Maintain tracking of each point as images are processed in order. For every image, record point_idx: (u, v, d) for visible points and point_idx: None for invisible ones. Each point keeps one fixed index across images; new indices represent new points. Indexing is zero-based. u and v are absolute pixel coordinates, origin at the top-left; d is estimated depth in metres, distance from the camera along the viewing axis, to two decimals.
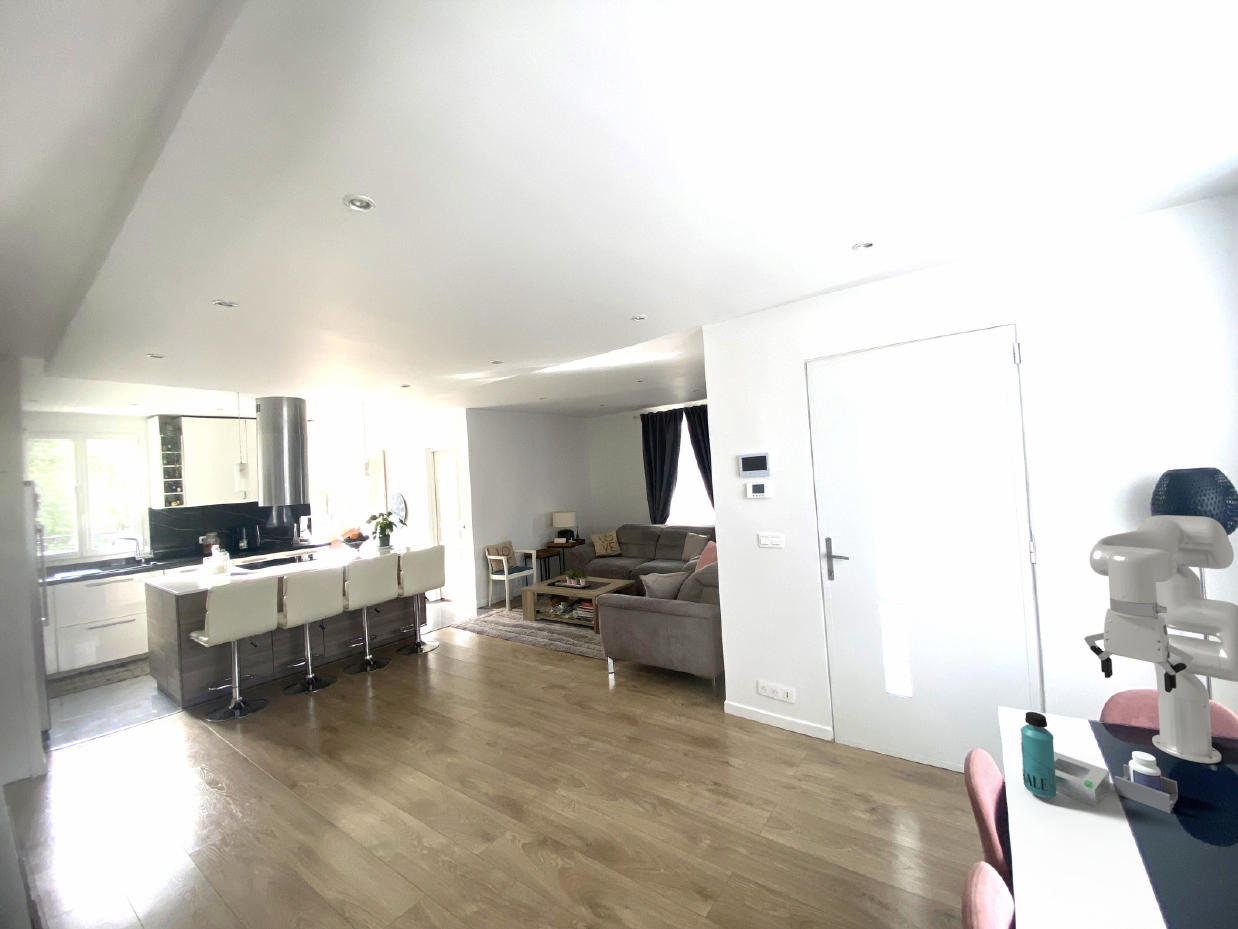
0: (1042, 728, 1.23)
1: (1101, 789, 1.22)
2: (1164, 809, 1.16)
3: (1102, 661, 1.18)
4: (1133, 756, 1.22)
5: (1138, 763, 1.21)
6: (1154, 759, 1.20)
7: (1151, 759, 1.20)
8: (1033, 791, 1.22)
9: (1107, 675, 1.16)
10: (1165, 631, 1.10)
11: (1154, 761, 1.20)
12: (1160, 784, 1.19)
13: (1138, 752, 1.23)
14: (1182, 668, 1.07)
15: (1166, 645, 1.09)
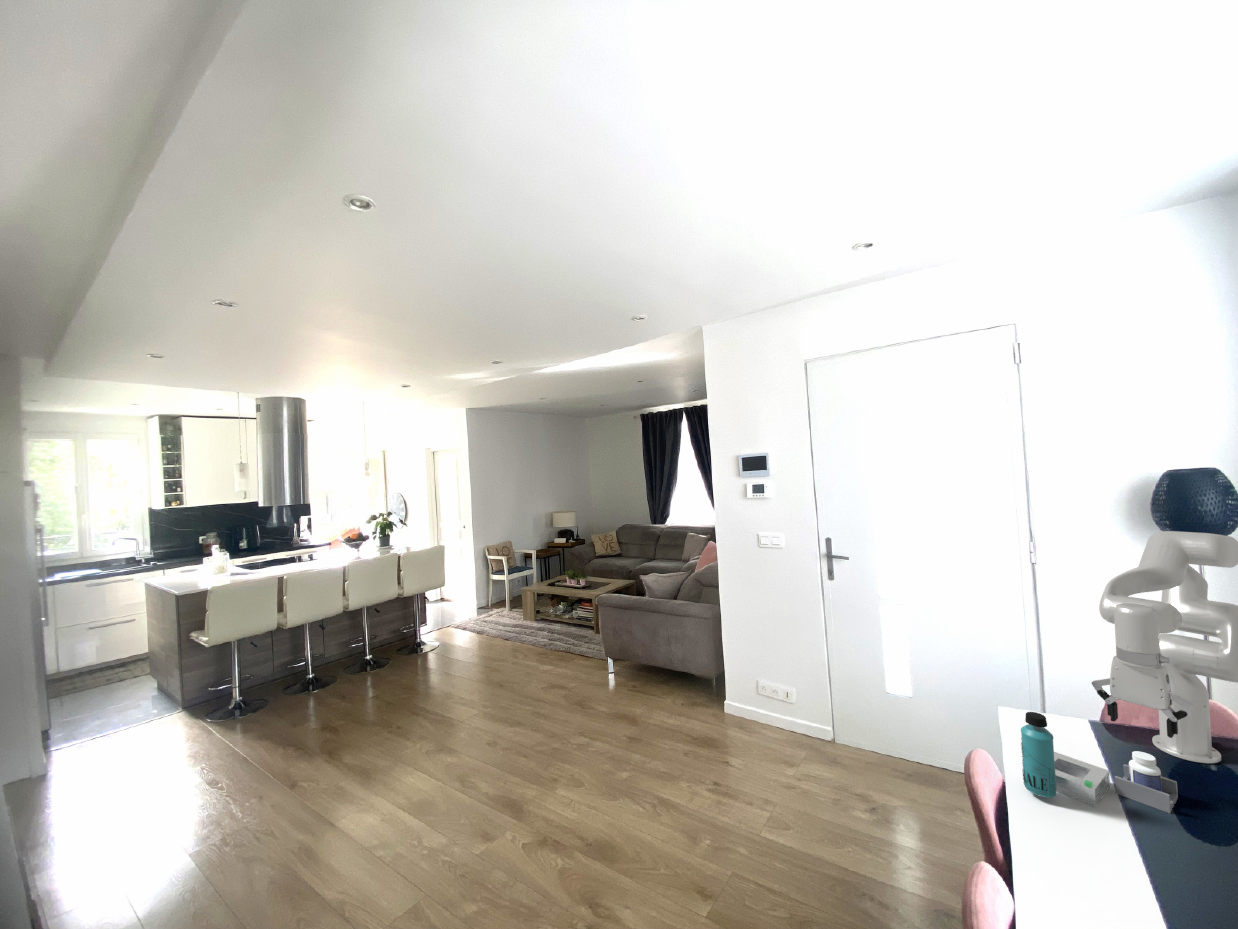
0: (1042, 728, 1.23)
1: (1101, 789, 1.22)
2: (1164, 809, 1.16)
3: (1108, 705, 1.26)
4: (1133, 756, 1.22)
5: (1138, 763, 1.21)
6: (1154, 759, 1.20)
7: (1151, 759, 1.20)
8: (1033, 791, 1.22)
9: (1113, 719, 1.24)
10: (1167, 680, 1.18)
11: (1154, 761, 1.20)
12: (1160, 784, 1.19)
13: (1138, 752, 1.23)
14: (1183, 716, 1.15)
15: (1168, 693, 1.17)
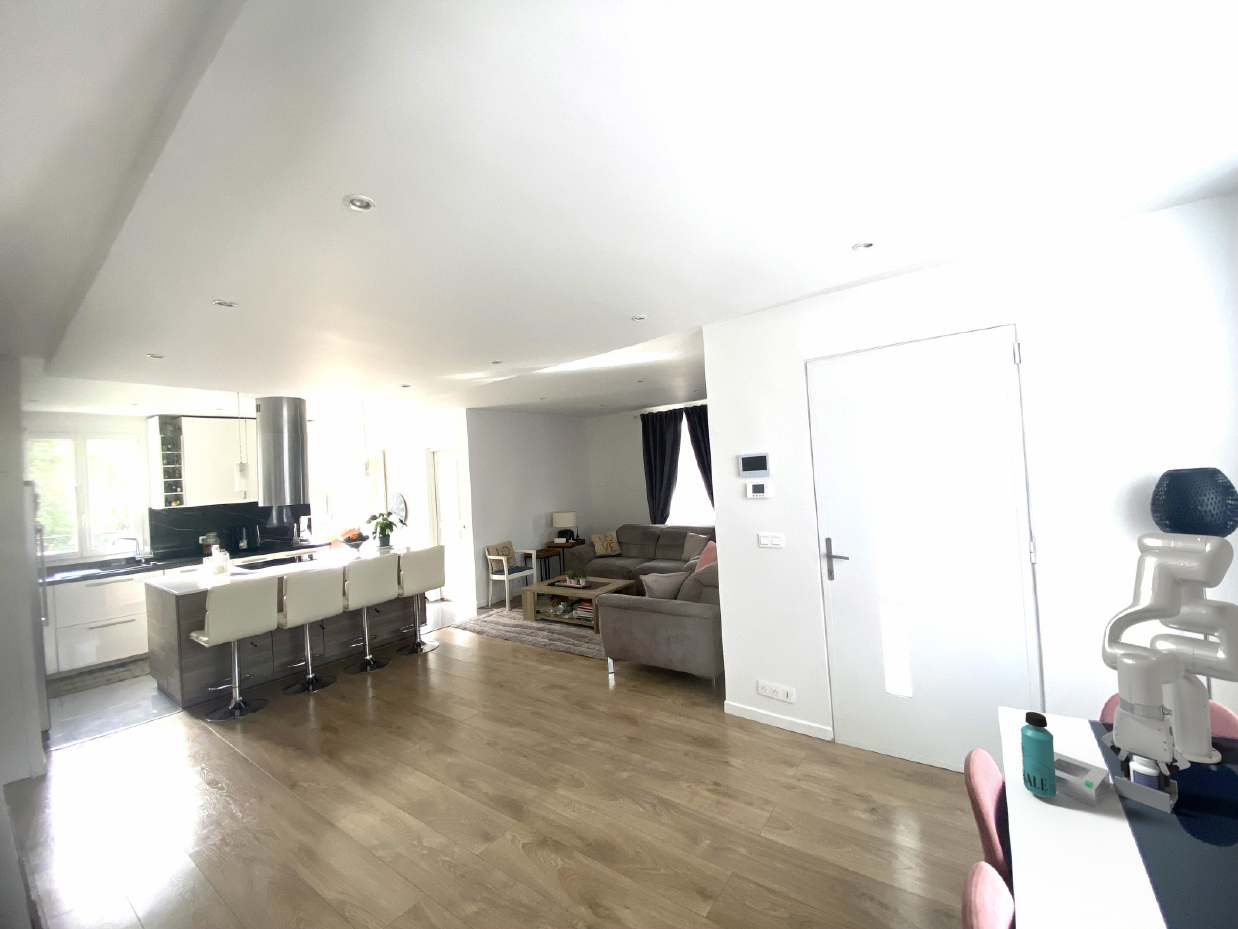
0: (1042, 728, 1.23)
1: (1101, 789, 1.22)
2: (1164, 809, 1.16)
3: (1122, 761, 1.24)
4: (1133, 756, 1.22)
5: (1138, 763, 1.21)
6: None
7: (1151, 759, 1.20)
8: (1033, 791, 1.22)
9: (1126, 775, 1.23)
10: (1171, 732, 1.18)
11: (1154, 761, 1.20)
12: None
13: None
14: (1176, 770, 1.17)
15: (1172, 746, 1.17)
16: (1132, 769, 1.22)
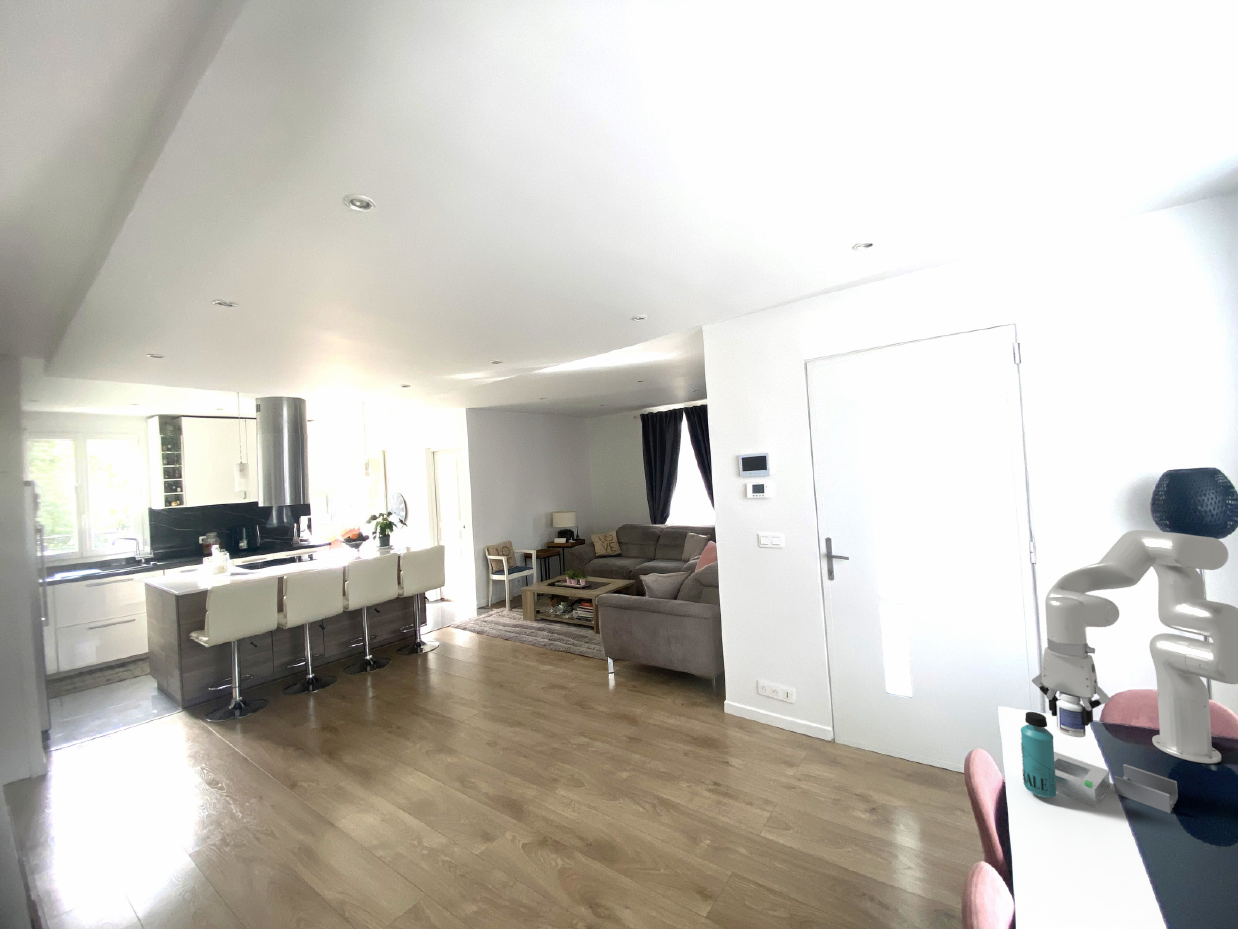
0: (1042, 728, 1.23)
1: (1101, 789, 1.22)
2: (1164, 809, 1.16)
3: (1050, 700, 1.29)
4: (1060, 694, 1.28)
5: (1064, 700, 1.26)
6: None
7: (1076, 696, 1.25)
8: (1033, 791, 1.22)
9: (1054, 713, 1.28)
10: (1093, 669, 1.24)
11: (1079, 698, 1.25)
12: None
13: None
14: (1097, 705, 1.22)
15: (1093, 682, 1.22)
16: (1058, 707, 1.27)
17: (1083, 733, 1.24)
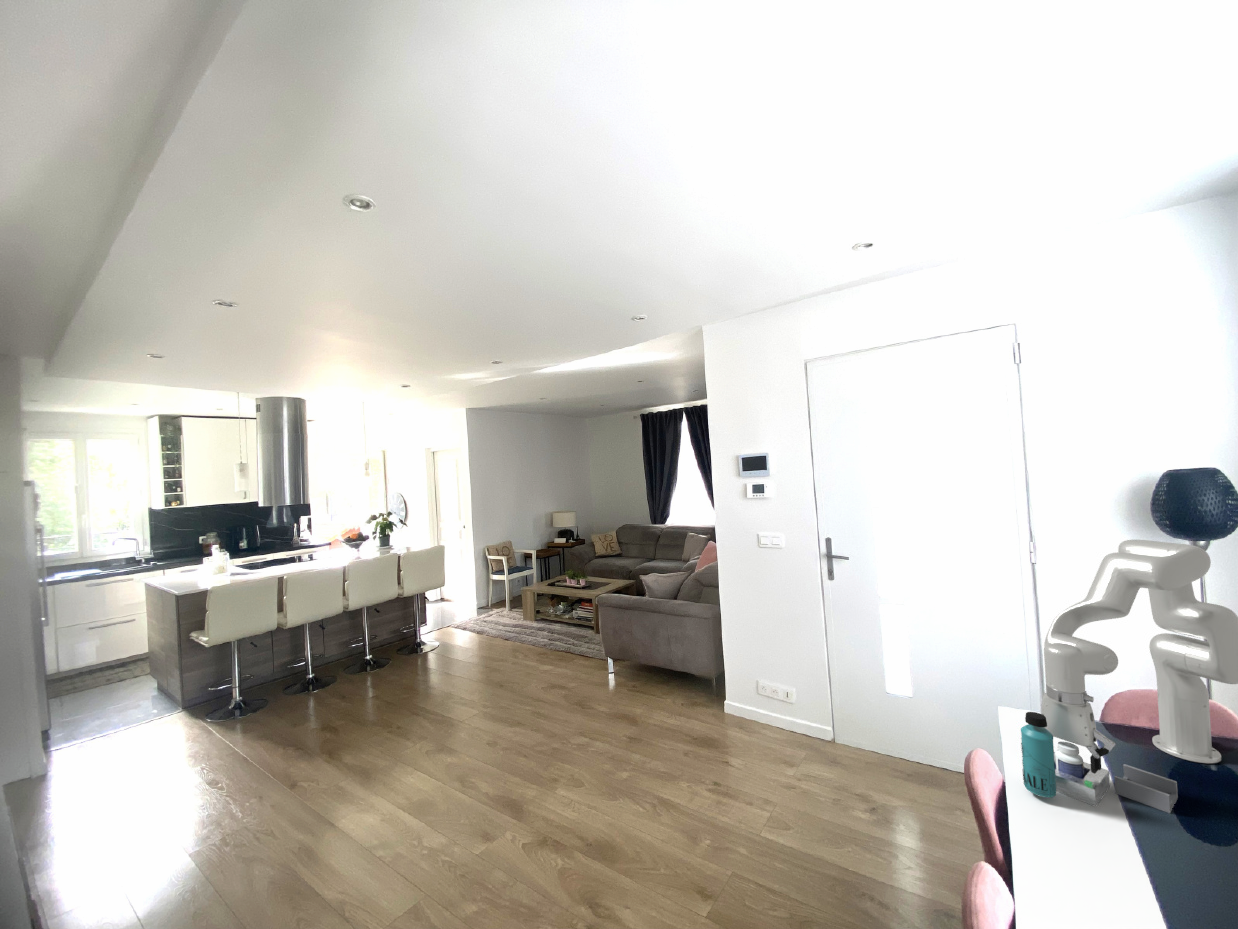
0: (1042, 728, 1.23)
1: (1101, 789, 1.22)
2: (1164, 809, 1.16)
3: None
4: (1058, 746, 1.28)
5: (1062, 752, 1.27)
6: (1077, 749, 1.26)
7: (1074, 748, 1.26)
8: (1033, 791, 1.22)
9: None
10: (1092, 718, 1.24)
11: (1077, 750, 1.25)
12: (1082, 772, 1.25)
13: (1063, 742, 1.29)
14: (1105, 753, 1.21)
15: (1092, 731, 1.22)
16: (1057, 758, 1.27)
17: None
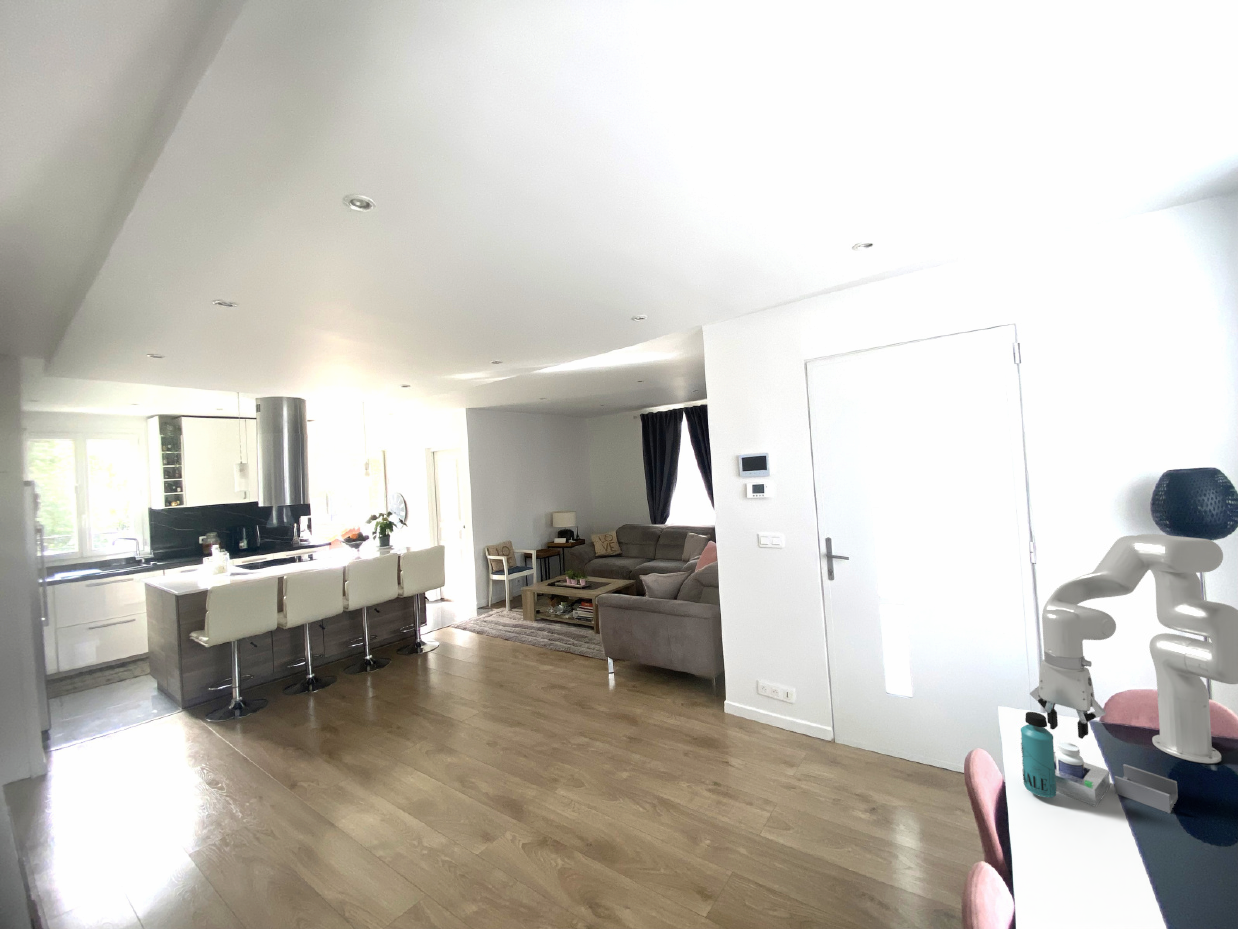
0: (1042, 728, 1.23)
1: (1101, 789, 1.22)
2: (1164, 809, 1.16)
3: (1048, 713, 1.30)
4: (1059, 747, 1.28)
5: (1063, 753, 1.27)
6: (1077, 749, 1.25)
7: (1075, 749, 1.25)
8: (1033, 791, 1.22)
9: (1052, 727, 1.28)
10: (1090, 682, 1.24)
11: (1077, 751, 1.25)
12: (1082, 773, 1.25)
13: (1064, 743, 1.28)
14: (1092, 718, 1.22)
15: (1090, 695, 1.23)
16: (1057, 759, 1.27)
17: None
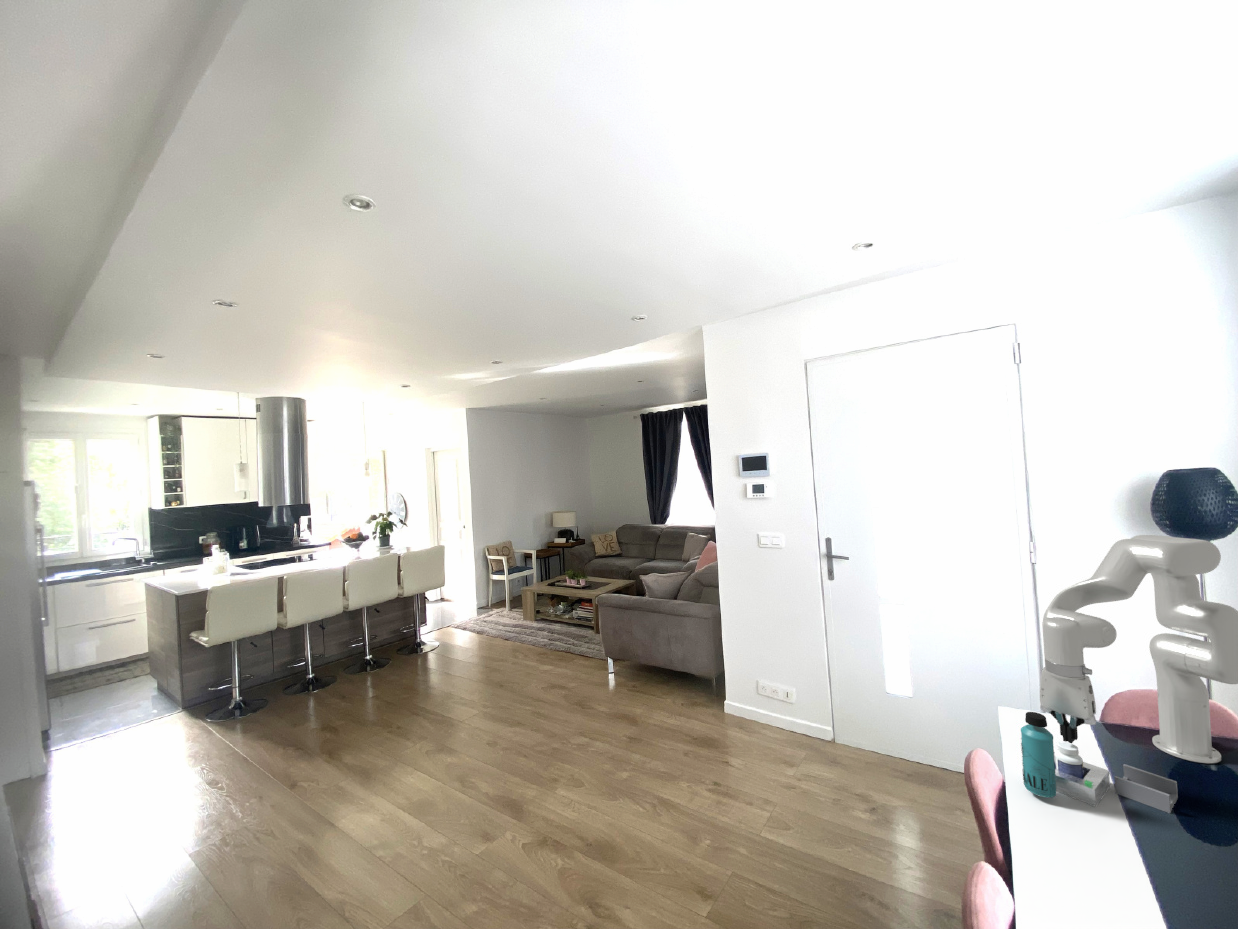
0: (1042, 728, 1.23)
1: (1101, 789, 1.22)
2: (1164, 809, 1.16)
3: (1061, 725, 1.28)
4: (1058, 746, 1.28)
5: (1062, 753, 1.27)
6: (1076, 749, 1.25)
7: (1074, 749, 1.25)
8: (1033, 791, 1.22)
9: (1065, 739, 1.27)
10: (1091, 690, 1.24)
11: (1076, 751, 1.25)
12: (1082, 773, 1.25)
13: (1063, 742, 1.28)
14: (1081, 723, 1.24)
15: (1091, 703, 1.23)
16: (1057, 759, 1.27)
17: None
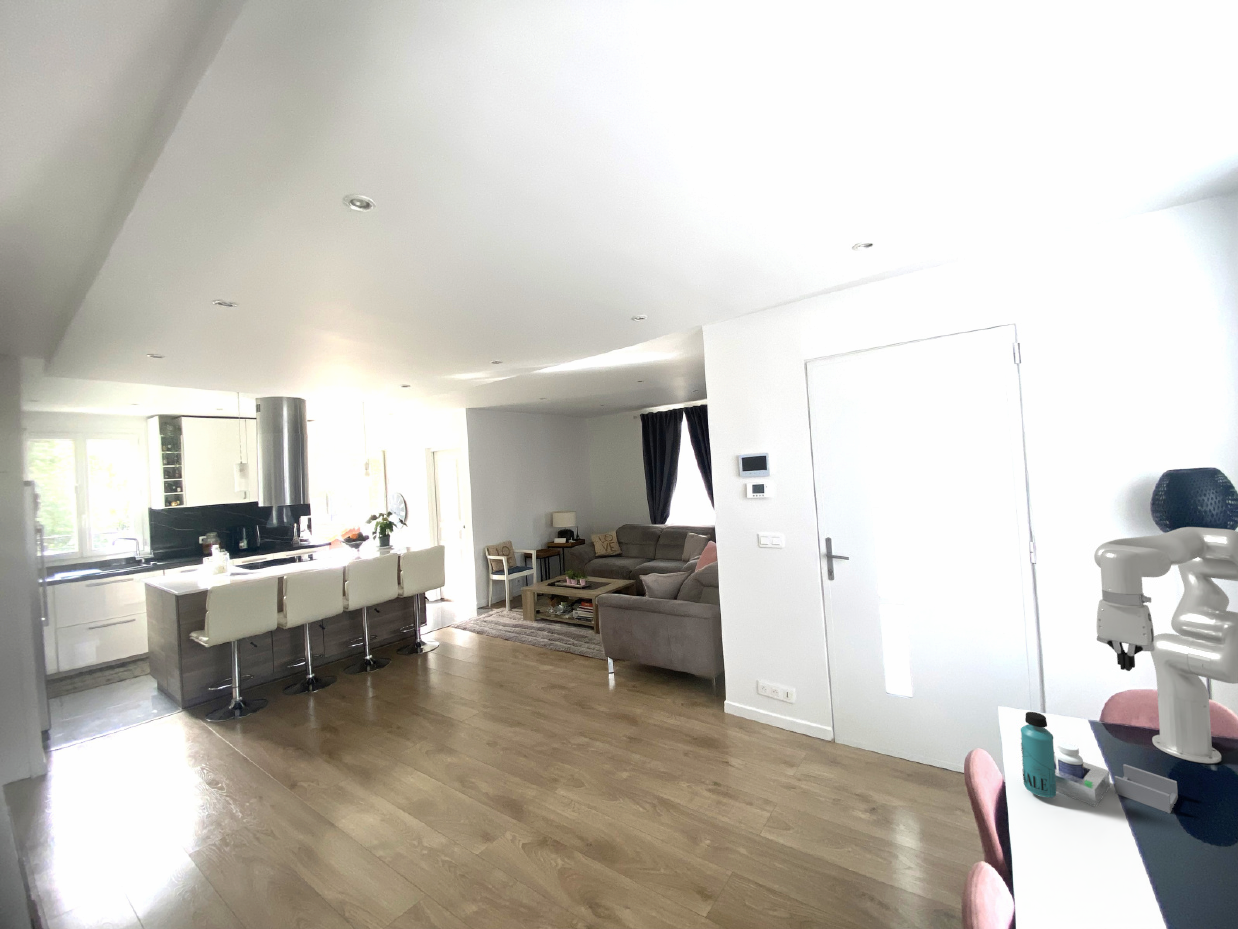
0: (1042, 728, 1.23)
1: (1101, 789, 1.22)
2: (1164, 809, 1.16)
3: (1118, 654, 1.31)
4: (1058, 746, 1.28)
5: (1062, 753, 1.27)
6: (1077, 749, 1.26)
7: (1074, 749, 1.26)
8: (1033, 791, 1.22)
9: (1123, 667, 1.29)
10: (1149, 618, 1.27)
11: (1077, 750, 1.25)
12: (1082, 772, 1.25)
13: (1063, 742, 1.28)
14: (1139, 650, 1.27)
15: (1150, 630, 1.25)
16: (1057, 759, 1.27)
17: None
